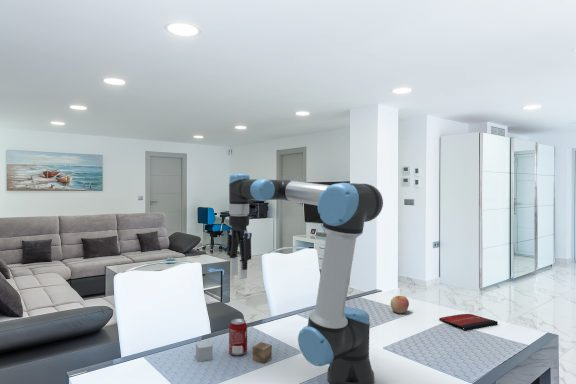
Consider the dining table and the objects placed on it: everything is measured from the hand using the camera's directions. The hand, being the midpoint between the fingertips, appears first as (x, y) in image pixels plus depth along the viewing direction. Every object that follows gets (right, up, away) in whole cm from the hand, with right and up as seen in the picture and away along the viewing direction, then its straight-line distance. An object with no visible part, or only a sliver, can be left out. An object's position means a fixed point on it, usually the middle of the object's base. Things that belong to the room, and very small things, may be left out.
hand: (238, 276), depth 146 cm
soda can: (0, -29, +1) cm, 29 cm away
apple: (+75, -29, +49) cm, 94 cm away
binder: (+103, -30, +36) cm, 113 cm away
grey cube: (-12, -29, -4) cm, 32 cm away
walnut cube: (+9, -29, -5) cm, 31 cm away
